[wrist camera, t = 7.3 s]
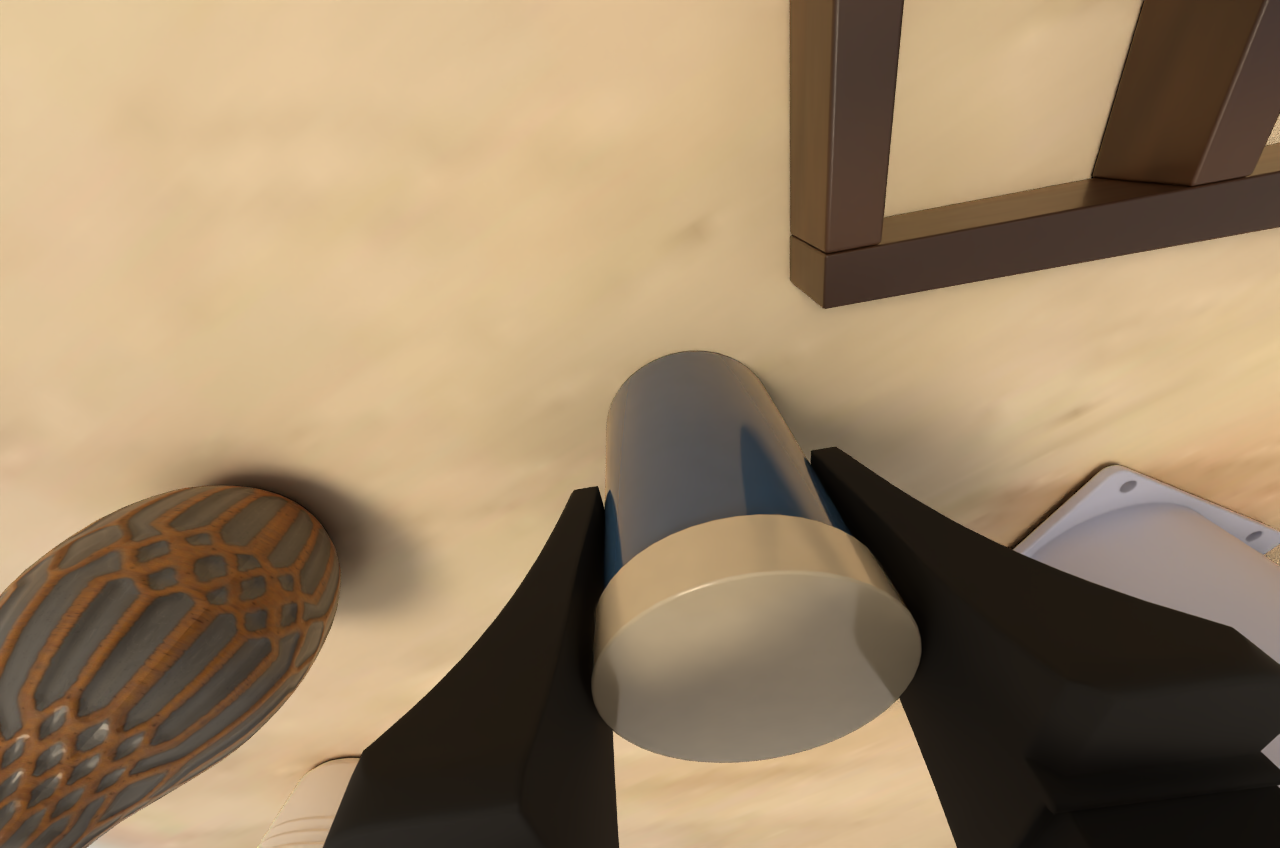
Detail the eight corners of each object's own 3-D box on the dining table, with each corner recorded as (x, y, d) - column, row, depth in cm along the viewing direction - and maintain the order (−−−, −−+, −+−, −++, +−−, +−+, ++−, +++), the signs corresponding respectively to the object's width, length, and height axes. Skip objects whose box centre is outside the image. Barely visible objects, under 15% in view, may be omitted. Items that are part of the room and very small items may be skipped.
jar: (809, 381, 14) (998, 619, 7) (725, 511, 17) (804, 779, 10) (641, 317, 13) (673, 531, 6) (578, 468, 16) (548, 741, 9)
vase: (117, 534, 16) (-319, 883, 9) (200, 408, 14) (-294, 735, 6) (314, 621, 19) (116, 941, 11) (411, 529, 17) (243, 855, 9)
